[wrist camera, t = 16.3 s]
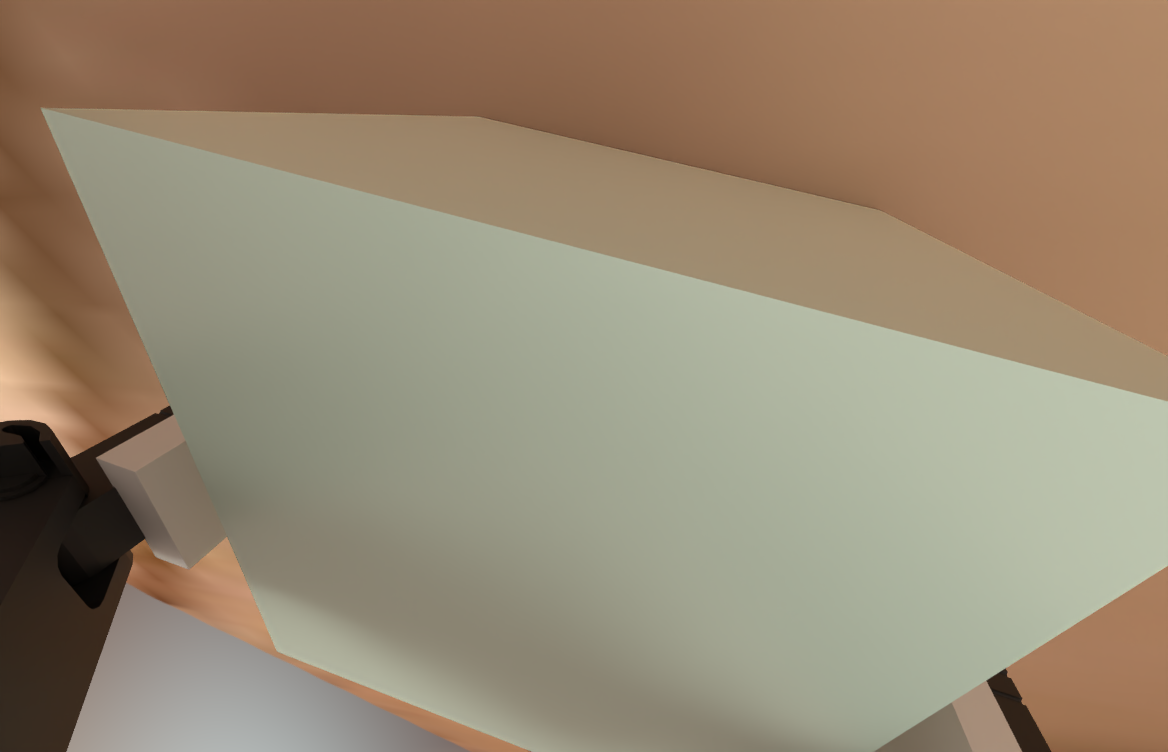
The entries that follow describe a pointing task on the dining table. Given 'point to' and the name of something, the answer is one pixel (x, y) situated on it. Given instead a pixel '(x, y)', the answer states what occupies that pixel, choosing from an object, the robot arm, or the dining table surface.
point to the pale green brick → (618, 427)
